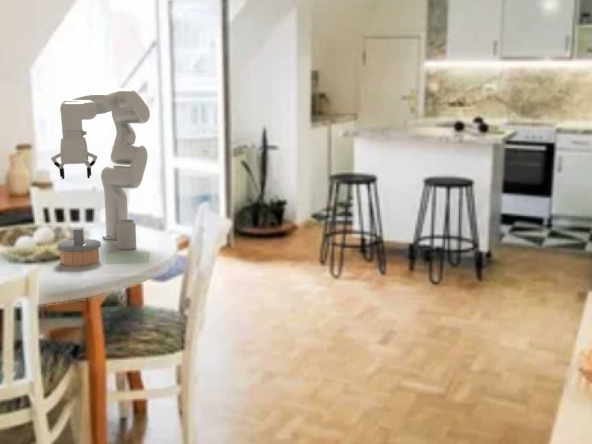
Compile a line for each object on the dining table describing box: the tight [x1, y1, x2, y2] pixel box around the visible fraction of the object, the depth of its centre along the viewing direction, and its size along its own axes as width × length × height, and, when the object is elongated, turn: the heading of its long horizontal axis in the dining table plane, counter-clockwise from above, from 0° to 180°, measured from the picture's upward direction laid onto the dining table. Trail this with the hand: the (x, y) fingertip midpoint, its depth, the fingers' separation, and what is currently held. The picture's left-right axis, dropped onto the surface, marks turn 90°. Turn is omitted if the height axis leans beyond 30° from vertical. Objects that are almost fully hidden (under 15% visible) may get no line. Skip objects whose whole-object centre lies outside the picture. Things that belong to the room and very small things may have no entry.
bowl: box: [59, 247, 100, 267], centre depth 280 cm, size 14×14×6 cm
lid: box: [56, 227, 102, 252], centre depth 279 cm, size 16×16×7 cm
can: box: [116, 218, 137, 251], centre depth 300 cm, size 8×8×12 cm
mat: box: [105, 251, 150, 265], centre depth 286 cm, size 16×16×1 cm
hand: (76, 178), depth 287 cm, fingers open, 9 cm apart
